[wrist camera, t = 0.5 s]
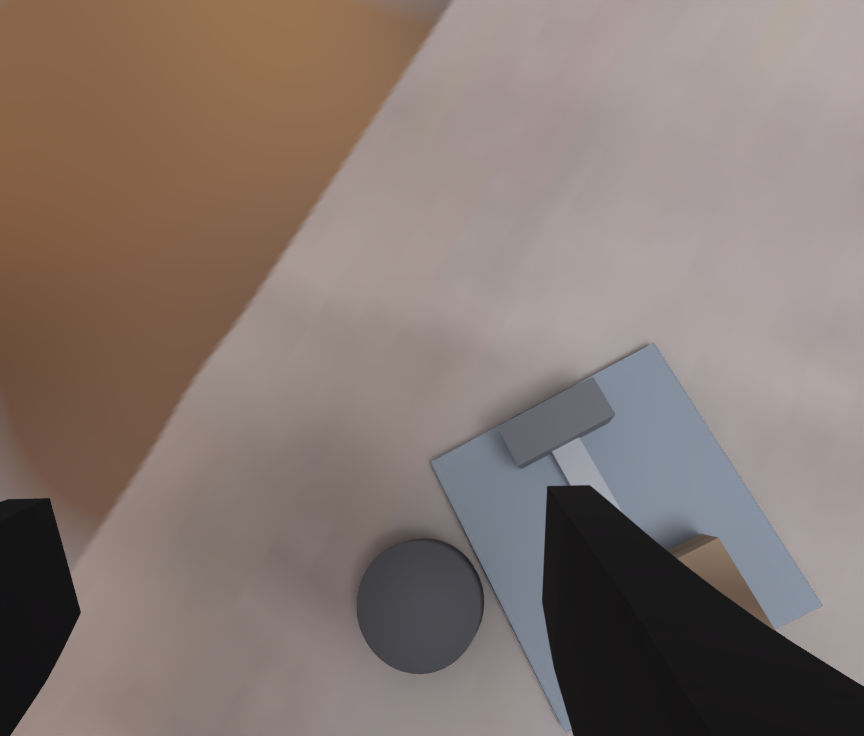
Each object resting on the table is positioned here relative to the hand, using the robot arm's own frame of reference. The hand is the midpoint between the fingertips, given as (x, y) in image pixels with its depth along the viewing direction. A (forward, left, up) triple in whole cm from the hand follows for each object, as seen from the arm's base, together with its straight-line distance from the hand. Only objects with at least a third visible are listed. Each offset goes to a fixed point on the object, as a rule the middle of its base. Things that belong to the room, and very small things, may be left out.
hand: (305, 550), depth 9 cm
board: (-3, -5, -24) cm, 25 cm away
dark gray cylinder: (-2, +5, -24) cm, 25 cm away
